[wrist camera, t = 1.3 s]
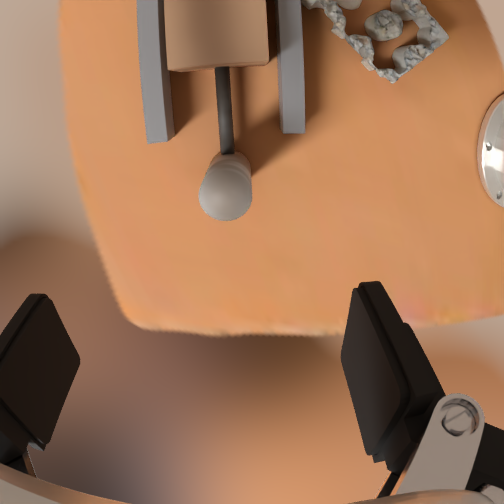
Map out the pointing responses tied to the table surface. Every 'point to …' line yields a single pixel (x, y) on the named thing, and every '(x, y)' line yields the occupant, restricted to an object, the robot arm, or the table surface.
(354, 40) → the grey rough openwork block
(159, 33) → the lane rack
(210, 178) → the tan block with knob
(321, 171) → the table surface
